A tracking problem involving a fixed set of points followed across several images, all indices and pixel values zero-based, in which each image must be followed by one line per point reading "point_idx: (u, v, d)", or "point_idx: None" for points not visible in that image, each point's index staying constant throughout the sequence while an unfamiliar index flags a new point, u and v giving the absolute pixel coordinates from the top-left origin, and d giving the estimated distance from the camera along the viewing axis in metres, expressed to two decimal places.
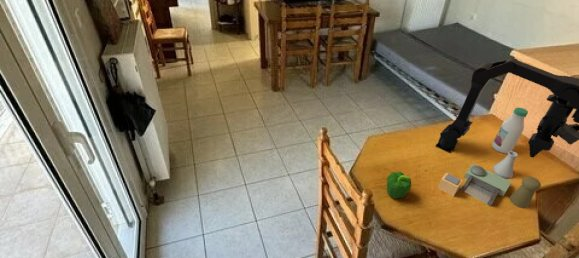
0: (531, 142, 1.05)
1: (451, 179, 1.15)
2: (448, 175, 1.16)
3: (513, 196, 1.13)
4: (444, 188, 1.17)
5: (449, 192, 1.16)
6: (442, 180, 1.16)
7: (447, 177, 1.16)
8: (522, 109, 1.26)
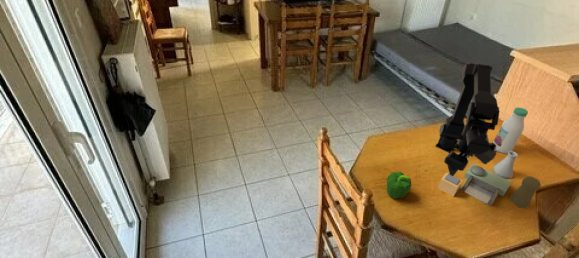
0: (446, 161, 1.03)
1: (451, 179, 1.15)
2: (448, 175, 1.16)
3: (513, 196, 1.13)
4: (444, 188, 1.17)
5: (449, 192, 1.16)
6: (442, 180, 1.16)
7: (447, 177, 1.16)
8: (522, 109, 1.26)
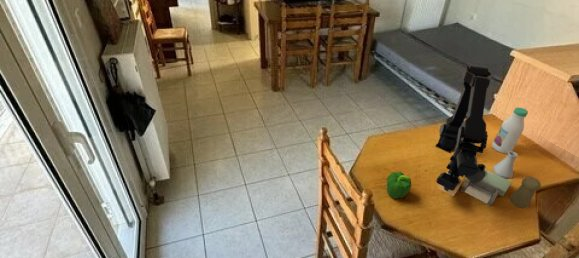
0: (438, 181, 1.09)
1: None
2: None
3: (513, 196, 1.13)
4: None
5: (449, 192, 1.16)
6: None
7: None
8: (522, 109, 1.26)
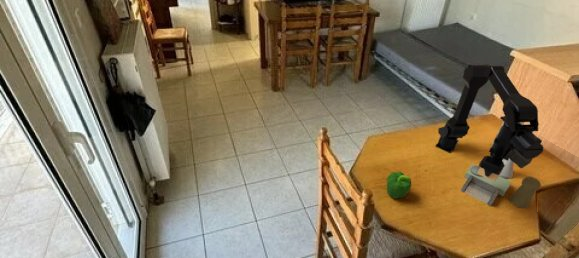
0: (481, 165, 1.01)
1: None
2: None
3: (513, 196, 1.13)
4: None
5: (490, 177, 1.09)
6: None
7: None
8: None
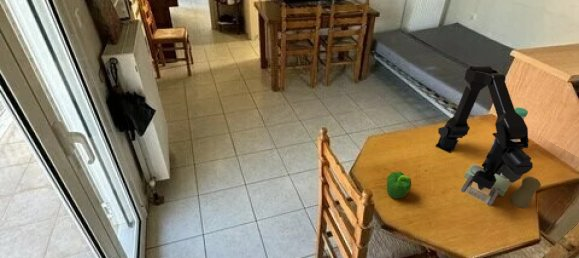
0: (474, 180, 1.05)
1: None
2: None
3: (513, 196, 1.13)
4: None
5: (483, 191, 1.13)
6: None
7: None
8: (522, 109, 1.26)
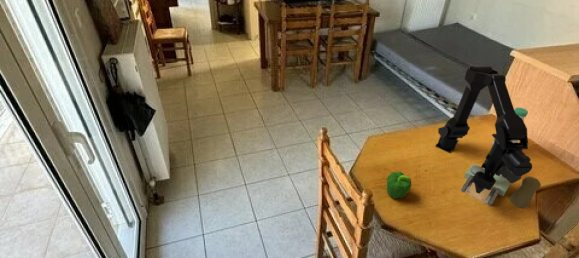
0: (474, 181, 1.06)
1: None
2: None
3: (513, 196, 1.13)
4: (475, 191, 1.15)
5: (481, 196, 1.14)
6: None
7: None
8: (522, 109, 1.26)
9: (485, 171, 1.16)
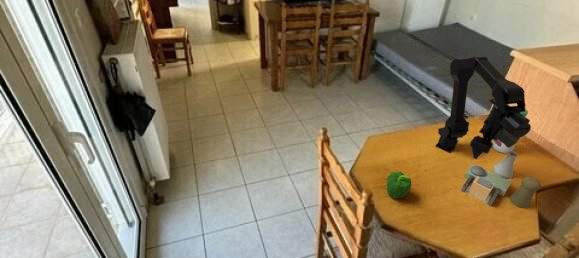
0: (471, 145, 1.09)
1: (483, 182, 1.13)
2: (480, 178, 1.15)
3: (513, 196, 1.13)
4: (475, 191, 1.15)
5: (481, 196, 1.14)
6: (474, 183, 1.14)
7: (479, 180, 1.14)
8: None
9: (483, 138, 1.19)
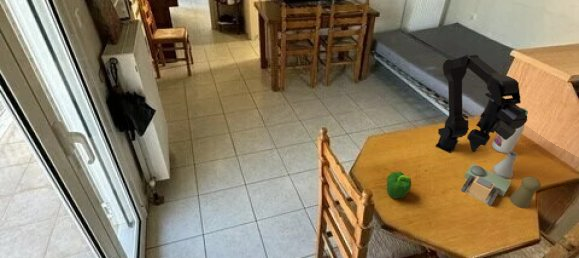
0: (469, 138, 1.11)
1: (483, 182, 1.13)
2: (480, 178, 1.15)
3: (513, 196, 1.13)
4: (475, 191, 1.15)
5: (481, 196, 1.14)
6: (474, 183, 1.14)
7: (479, 180, 1.14)
8: None
9: None
